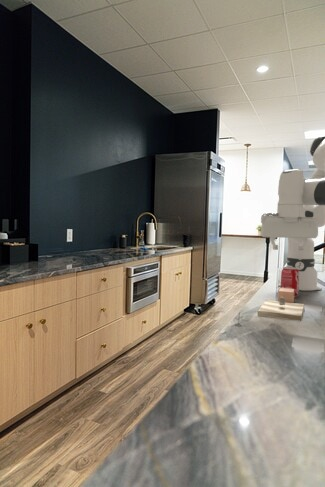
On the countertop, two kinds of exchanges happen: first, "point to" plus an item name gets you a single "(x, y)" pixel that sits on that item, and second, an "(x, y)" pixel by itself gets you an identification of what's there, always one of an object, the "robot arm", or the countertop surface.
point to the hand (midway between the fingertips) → (288, 249)
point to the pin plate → (282, 309)
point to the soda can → (290, 279)
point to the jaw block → (286, 294)
